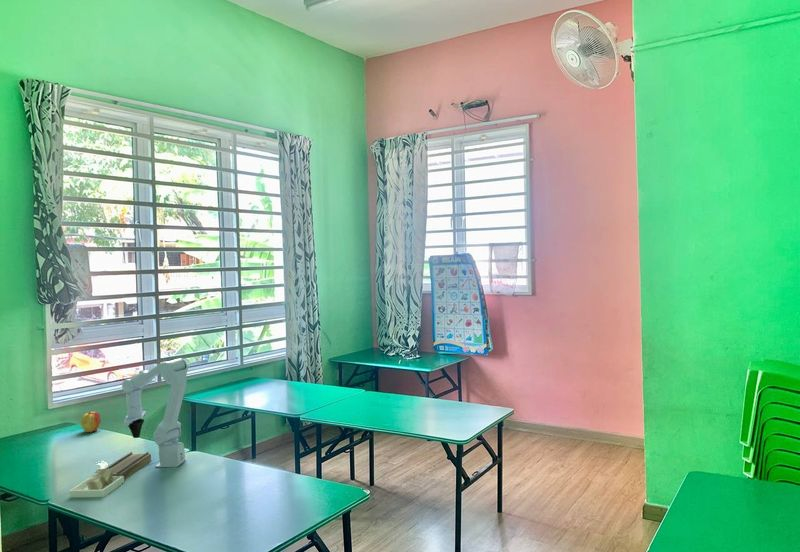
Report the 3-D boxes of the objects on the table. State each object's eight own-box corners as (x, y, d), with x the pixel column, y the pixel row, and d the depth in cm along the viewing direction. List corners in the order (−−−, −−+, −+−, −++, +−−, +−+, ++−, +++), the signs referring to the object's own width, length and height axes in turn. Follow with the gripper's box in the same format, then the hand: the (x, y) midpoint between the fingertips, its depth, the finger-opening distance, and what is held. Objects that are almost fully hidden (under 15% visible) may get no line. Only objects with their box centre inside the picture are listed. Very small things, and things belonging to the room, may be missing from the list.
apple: (101, 431, 286) (100, 412, 286) (81, 435, 282) (79, 415, 281) (101, 427, 294) (99, 408, 294) (81, 430, 290) (79, 411, 289)
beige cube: (113, 475, 219) (109, 468, 217) (108, 484, 215) (104, 477, 213) (103, 476, 219) (99, 469, 217) (98, 484, 215) (94, 477, 213)
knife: (93, 456, 249) (113, 453, 251) (94, 460, 249) (113, 457, 251) (79, 479, 220) (102, 475, 223) (80, 483, 220) (102, 479, 223)
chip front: (102, 474, 213) (97, 481, 209) (105, 483, 214) (99, 491, 210) (92, 475, 213) (86, 482, 209) (94, 484, 214) (88, 491, 211)
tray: (124, 482, 219) (123, 475, 218) (103, 497, 206) (103, 490, 206) (92, 482, 220) (91, 476, 220) (69, 497, 207) (69, 490, 207)
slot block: (151, 460, 241) (150, 451, 241) (121, 481, 219) (120, 472, 219) (128, 460, 242) (128, 452, 242) (96, 482, 220) (96, 472, 220)
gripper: (134, 401, 250) (136, 432, 251) (115, 411, 236) (117, 443, 236) (150, 401, 250) (152, 431, 250) (131, 410, 235) (133, 443, 236)
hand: (136, 437), depth 243 cm, fingers closed
